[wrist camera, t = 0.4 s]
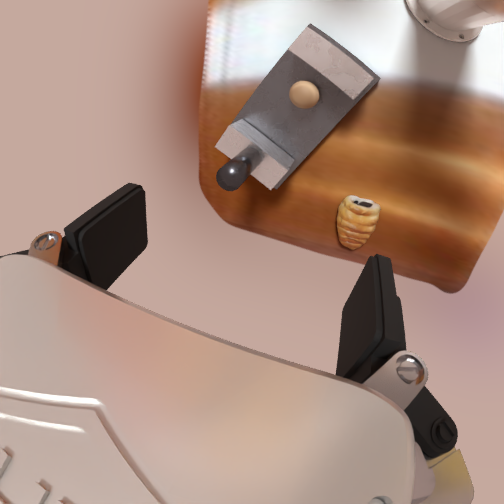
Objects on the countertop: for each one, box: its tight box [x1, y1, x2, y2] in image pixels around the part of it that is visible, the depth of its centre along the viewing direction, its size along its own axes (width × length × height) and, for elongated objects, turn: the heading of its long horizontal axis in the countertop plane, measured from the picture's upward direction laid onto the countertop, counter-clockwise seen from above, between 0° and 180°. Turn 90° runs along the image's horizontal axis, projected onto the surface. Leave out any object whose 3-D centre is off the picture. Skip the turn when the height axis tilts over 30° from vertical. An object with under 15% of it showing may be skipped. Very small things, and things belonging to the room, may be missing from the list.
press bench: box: [231, 24, 380, 189], centre depth 35 cm, size 24×12×6 cm, turn 145°
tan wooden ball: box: [289, 81, 319, 109], centre depth 33 cm, size 4×4×4 cm
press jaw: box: [215, 119, 294, 191], centre depth 36 cm, size 4×10×13 cm, turn 55°
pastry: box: [337, 195, 381, 250], centre depth 44 cm, size 9×7×4 cm
